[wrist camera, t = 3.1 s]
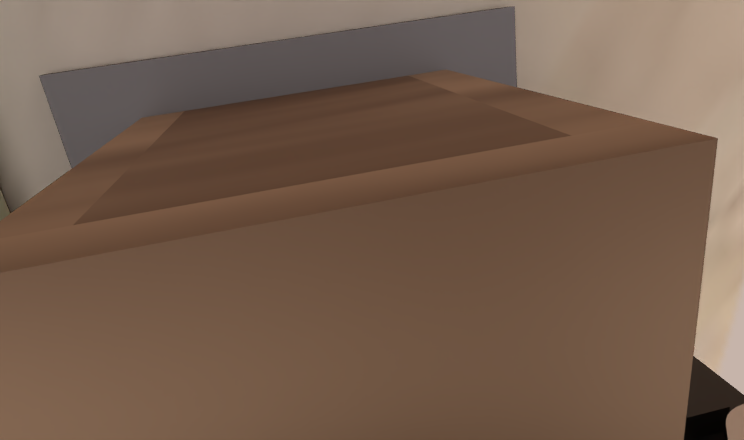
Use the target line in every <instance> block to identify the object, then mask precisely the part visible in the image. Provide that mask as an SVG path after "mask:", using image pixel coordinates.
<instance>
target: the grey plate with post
mask: <svg viewBox="0 0 744 440" xmlns="http://www.w3.org/2000/svg"><path fill="white" fill-rule="evenodd" d="M440 70H450V71H454V72H458V73H462V74H466V75H470V76H474V77H478V78H482V79H486V80H490V81H494V82H497V83H501V84H505V85H509V86H513V87H517V75H516V40H515V6H514V7H504V8H498V9H491V10H484V11H477V12H470V13H463V14H456V15H450V16H443V17H436V18H429V19H422V20H415V21H408V22H401V23H395V24H388V25H381V26H374V27H367V28H360V29H353V30H347V31H340V32H333V33H326V34H319V35H312V36H305V37H299V38H292V39H285V40H278V41H271V42H264V43H257V44H251V45H244V46H237V47H230V48H223V49H216V50H209V51H203V52H196V53H189V54H182V55H175V56H168V57H161V58H155V59H148V60H141V61H134V62H127V63H120V64H113V65H107V66H100V67H93V68H86V69H79V70H72V71H65V72H59V73H52V74H45V75H41V76H39V78H40V80H41V83H42V86H43V89H44V92H45V94H46V97H47V100H48V103H49V106H50V109H51V111H52V114H53V117H54V120H55V123H56V125H57V128H58V131H59V134H60V137H61V140H62V142H63V145H64V148H65V151H66V154H67V156H68V159H69V162H70V165H71V168H74V167H75V166H76V165H78V164H79V163H80V162H82V161H83V160H84V159H86V158H87V157H89V156H90V155H91V154H93V153H94V152H95V151H97V150H98V149H100V148H101V147H102V146H104V145H105V144H106V143H108V142H109V141H111V140H112V139H113V138H115V137H116V136H117V135H119V134H120V133H122V132H123V131H124V130H126V129H127V128H128V127H130V126H131V125H132V124H134V123H135V122H137V121H138V120H139V119H141V118H144V117H150V116H156V115H162V114H169V113H175V112H181V111H188V110H194V109H200V108H207V107H213V106H219V105H226V104H232V103H238V102H244V101H251V100H257V99H263V98H270V97H276V96H282V95H289V94H295V93H301V92H307V91H314V90H320V89H326V88H333V87H339V86H345V85H352V84H358V83H364V82H371V81H377V80H383V79H389V78H396V77H402V76H408V75H415V74H421V73H427V72H434V71H440Z"/></svg>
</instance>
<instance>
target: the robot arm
mask: <svg viewBox="0 0 744 440" xmlns="http://www.w3.org/2000/svg"><path fill="white" fill-rule="evenodd" d="M684 440H744V395H743V394H742V393H740V392H739V391H738V390H737V389H735V388H734V387H733V386H731V385H730V384H729V383H728V382H726V381H725V380H724V379H722V378H721V377H720V376H719V375H717V374H716V373H715V372H713V371H712V370H711V369H709V368H708V367H707V366H706V365H704V364H703V363H702V362H700V361H699V360H698V359H697V358H695V357H694V356H693V361H692V370H691V379H690V388H689V397H688V406H687V415H686V423H685V432H684Z"/></svg>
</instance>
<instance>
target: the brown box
mask: <svg viewBox="0 0 744 440" xmlns="http://www.w3.org/2000/svg"><path fill="white" fill-rule="evenodd" d="M717 140H718V138H714V137H710V136H706V135H702V134H698V133H695V132H691V131H687V130H683V129H679V128H675V127H671V126H667V125H663V124H659V123H655V122H651V121H647V120H643V119H639V118H635V117H631V116H628V115H624V114H620V113H616V112H612V111H608V110H604V109H600V108H596V107H592V106H588V105H584V104H580V103H576V102H572V101H568V100H564V99H561V98H557V97H553V96H549V95H545V94H541V93H537V92H533V91H529V90H525V89H521V88H517V87H513V86H509V85H505V84H501V83H497V82H494V81H490V80H486V79H482V78H478V77H474V76H470V75H466V74H462V73H458V72H454V71H450V70H440V71H434V72H427V73H421V74H415V75H408V76H402V77H396V78H389V79H383V80H377V81H371V82H364V83H358V84H352V85H345V86H339V87H333V88H326V89H320V90H314V91H307V92H301V93H295V94H289V95H282V96H276V97H270V98H263V99H257V100H251V101H244V102H238V103H232V104H226V105H219V106H213V107H207V108H200V109H194V110H188V111H181V112H175V113H169V114H162V115H156V116H150V117H144V118H141V119H139V120H138V121H137V122H135V123H134V124H132V125H131V126H130V127H128V128H127V129H126V130H124V131H123V132H122V133H120V134H119V135H117V136H116V137H115V138H113V139H112V140H111V141H109V142H108V143H106V144H105V145H104V146H102V147H101V148H100V149H98V150H97V151H95V152H94V153H93V154H91V155H90V156H89V157H87V158H86V159H84V160H83V161H82V162H80V163H79V164H78V165H76V166H75V167H74V168H72V169H71V170H69V171H68V172H67V173H65V174H64V175H63V176H61V177H60V178H58V179H57V180H56V181H54V182H53V183H52V184H50V185H49V186H47V187H46V188H45V189H43V190H42V191H41V192H39V193H38V194H36V195H35V196H34V197H32V198H31V199H30V200H28V201H27V202H26V203H24V204H23V205H21V206H20V207H19V208H17V209H16V210H15V211H13V212H12V213H10V214H9V215H8V216H6V217H5V218H4V219H2V220H1V221H0V440H684V432H685V423H686V415H687V406H688V397H689V388H690V379H691V370H692V361H693V353H694V344H695V335H696V326H697V317H698V308H699V299H700V291H701V282H702V273H703V264H704V255H705V246H706V238H707V229H708V220H709V211H710V202H711V193H712V184H713V176H714V167H715V158H716V149H717Z"/></svg>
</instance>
